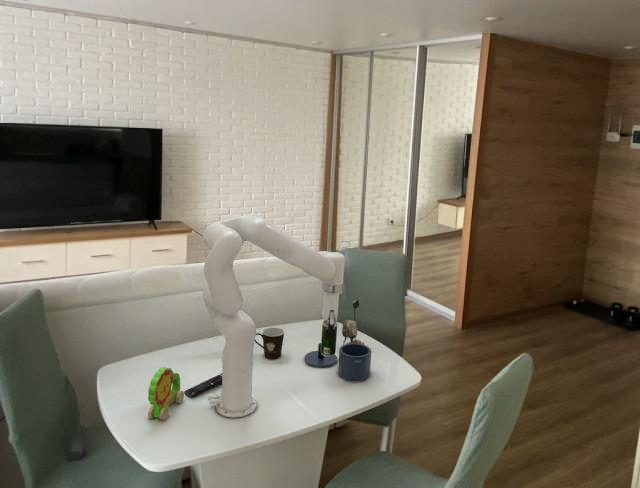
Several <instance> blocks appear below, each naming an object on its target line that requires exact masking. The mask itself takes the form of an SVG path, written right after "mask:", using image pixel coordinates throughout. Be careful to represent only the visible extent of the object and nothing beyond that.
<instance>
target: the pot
mask: <svg viewBox="0 0 640 488" xmlns="http://www.w3.org/2000/svg"><path fill="white" fill-rule="evenodd" d="M349 342H350V343H349ZM349 342H348V343H349V344H346V343H344V345H343V344H342V345H341V346H340V347H339V349H338V367H337V368H338V369H337V373H338V376H339V377H340V378H341V379H342V380H344V381H347V382H353V383H357V382H364V381H366V380H368V379H369V378H370V377H371V367H372V366H371V364H372V350H371V348H370V347H369V345H365V344H364V345H363V344H358V343H356V342H351V341H349Z"/></svg>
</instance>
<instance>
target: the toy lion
mask: <svg viewBox="0 0 640 488" xmlns="http://www.w3.org/2000/svg"><path fill="white" fill-rule="evenodd" d="M147 391H148V396H147V401H148V402H149V404H150V405H151V406H150V407H149V409H148V412H147V417H148V418H149V419H154V418H157V419H159V420H161V421H166V420H167V419H168V417H169V414H170V410H169V406H170V405H171V404H172V403H174V402H175V403H176V404H182V402H183V401H184V397H185V392H184V391H183V390H181V377H180V374H179V373H178V372H174V371H173V370H172V368H170V367H166V366H165V367H162V366H161V367H159V368H158V370H157V371H155V373H154V375H153V377H152V378H151V379H150V384H149V386H148V389H147Z"/></svg>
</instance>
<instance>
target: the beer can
mask: <svg viewBox="0 0 640 488" xmlns="http://www.w3.org/2000/svg"><path fill="white" fill-rule="evenodd" d="M328 320H330V319H328ZM329 324H330V322H329ZM326 328H327V321H324V320H322V325H321V338H320V339H321V341H320V343H321V354H322V355H323V356H327V357H331V356H333V355H334V354H335V355H336V349H337V337H338V320H337V321H335V336H334V340H326V339H325V333H326Z"/></svg>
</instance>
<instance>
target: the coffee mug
mask: <svg viewBox="0 0 640 488" xmlns="http://www.w3.org/2000/svg"><path fill="white" fill-rule="evenodd" d="M261 332H262V333H260V332H256V336H260V337H261V338H262V343H263V345H262V344H261V343H259V342H258V341H257V339H255V341H254V343H255V344H256V345H258V346H259V347H261V348H262V350H263V355H264V358H265V359H267V360H271V361H273V360H278V359H280V358H281V356H282V349H283V343H284V337H285V330H284V329H283V328H280V327H267V328H265V329H263V330H262V331H261Z"/></svg>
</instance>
